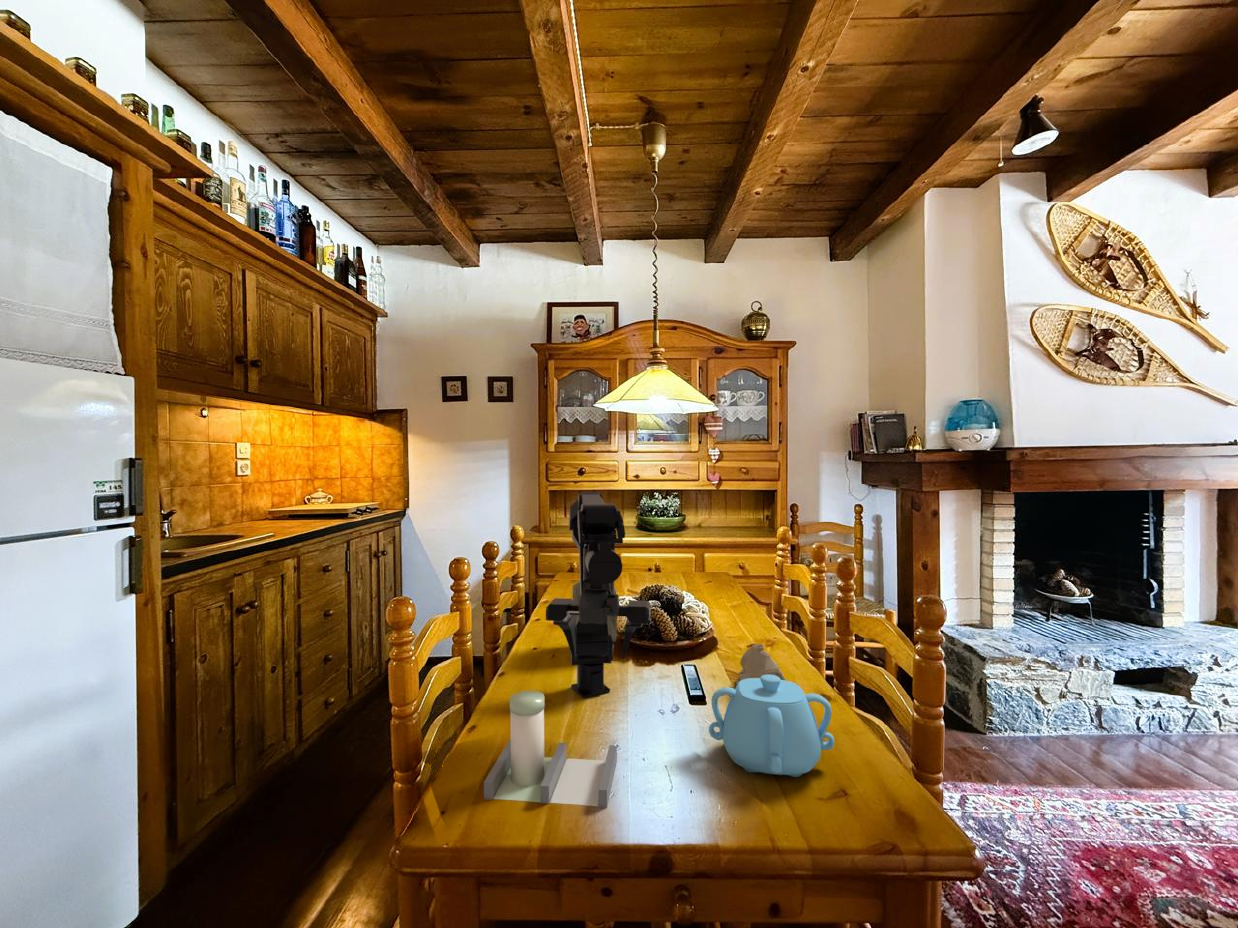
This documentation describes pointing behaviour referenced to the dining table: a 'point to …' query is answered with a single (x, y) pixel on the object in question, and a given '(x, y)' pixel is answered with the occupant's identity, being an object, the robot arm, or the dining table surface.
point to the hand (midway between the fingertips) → (598, 657)
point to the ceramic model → (758, 664)
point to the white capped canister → (527, 737)
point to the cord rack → (574, 786)
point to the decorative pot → (771, 726)
